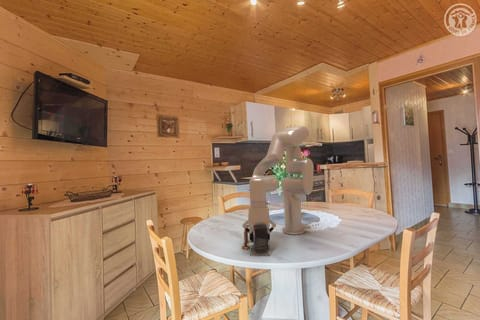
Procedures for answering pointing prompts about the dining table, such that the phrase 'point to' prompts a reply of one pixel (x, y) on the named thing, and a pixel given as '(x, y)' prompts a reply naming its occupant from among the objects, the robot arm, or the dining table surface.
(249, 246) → the bent rod
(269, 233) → the robot arm
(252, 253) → the rubber pad
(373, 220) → the dining table surface
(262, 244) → the small box
